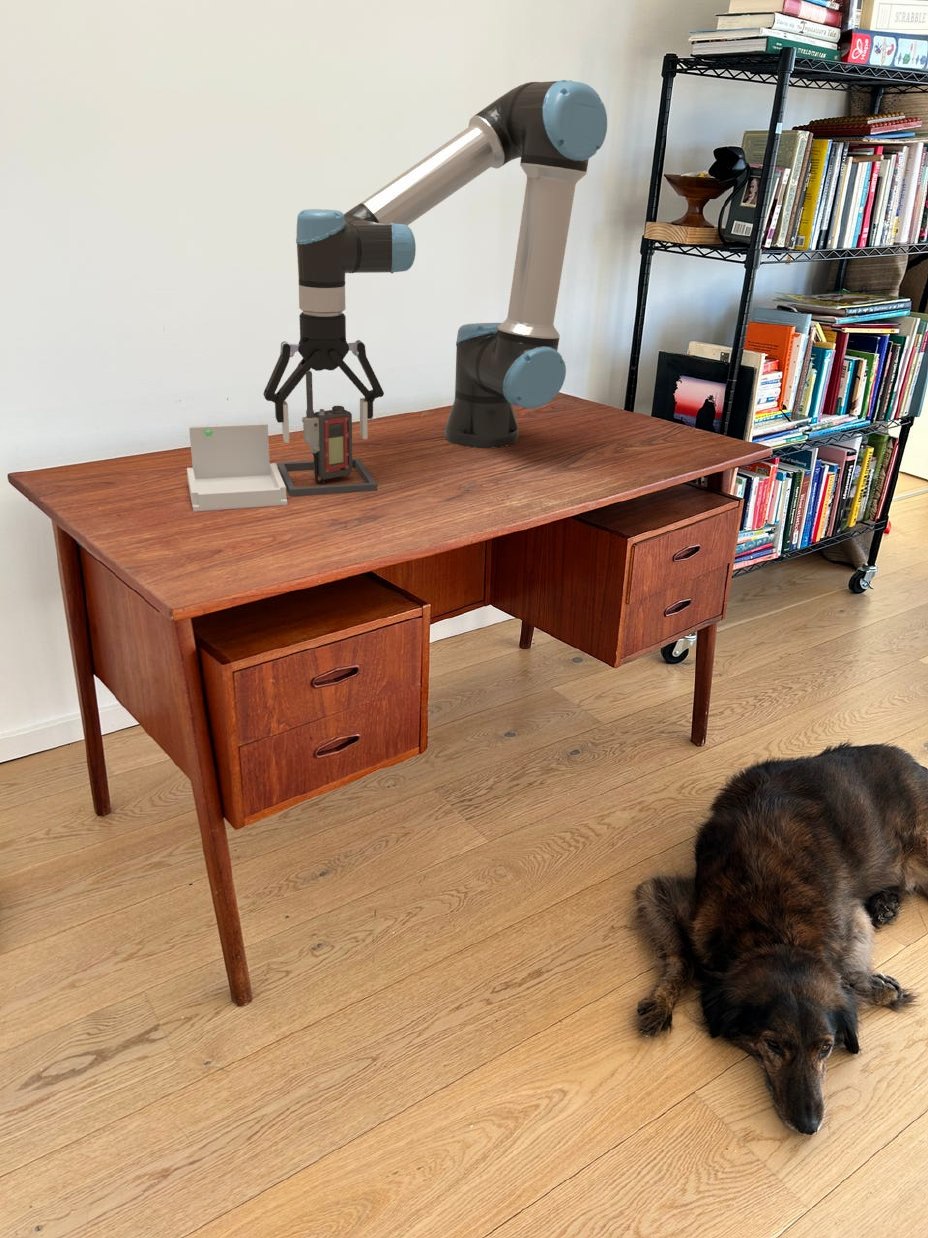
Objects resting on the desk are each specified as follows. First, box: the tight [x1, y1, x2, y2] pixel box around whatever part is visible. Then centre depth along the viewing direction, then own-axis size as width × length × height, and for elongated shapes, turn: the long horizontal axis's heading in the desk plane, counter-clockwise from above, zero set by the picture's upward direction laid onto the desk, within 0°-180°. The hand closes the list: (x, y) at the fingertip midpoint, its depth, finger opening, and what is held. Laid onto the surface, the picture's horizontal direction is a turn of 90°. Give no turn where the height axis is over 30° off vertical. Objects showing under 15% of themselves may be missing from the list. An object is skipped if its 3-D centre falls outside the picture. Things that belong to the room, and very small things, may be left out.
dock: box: [186, 422, 288, 513], centre depth 161 cm, size 15×15×10 cm
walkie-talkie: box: [301, 370, 353, 485], centre depth 167 cm, size 9×4×20 cm, turn 127°
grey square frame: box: [277, 457, 378, 497], centre depth 171 cm, size 15×15×2 cm
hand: (325, 438), depth 168 cm, fingers open, 13 cm apart
